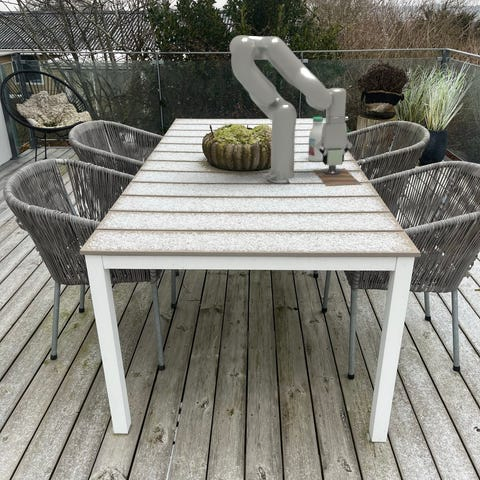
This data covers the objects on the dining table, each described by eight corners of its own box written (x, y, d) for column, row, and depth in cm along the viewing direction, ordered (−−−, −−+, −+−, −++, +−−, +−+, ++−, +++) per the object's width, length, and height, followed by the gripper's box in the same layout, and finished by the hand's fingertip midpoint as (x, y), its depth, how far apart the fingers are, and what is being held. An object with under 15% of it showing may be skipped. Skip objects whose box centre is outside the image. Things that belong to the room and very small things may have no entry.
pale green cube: (342, 164, 194) (342, 150, 192) (327, 165, 194) (328, 151, 192) (338, 161, 200) (338, 147, 197) (324, 161, 199) (324, 147, 197)
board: (361, 188, 182) (363, 161, 178) (326, 189, 182) (327, 163, 177) (344, 171, 204) (345, 147, 200) (312, 173, 204) (313, 149, 199)
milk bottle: (324, 157, 228) (325, 115, 220) (325, 161, 221) (327, 118, 213) (308, 157, 229) (309, 116, 221) (308, 161, 222) (309, 118, 214)
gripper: (353, 117, 194) (350, 160, 201) (312, 119, 193) (310, 162, 200) (358, 120, 187) (355, 165, 194) (316, 122, 186) (314, 167, 193)
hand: (333, 163), depth 197 cm, fingers closed on pale green cube, 6 cm apart
